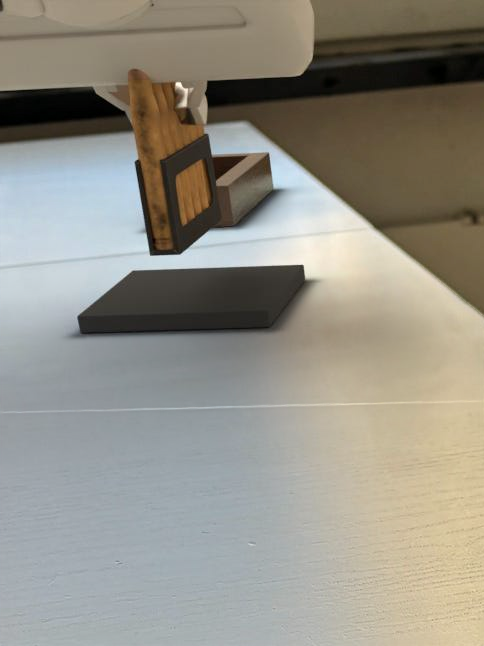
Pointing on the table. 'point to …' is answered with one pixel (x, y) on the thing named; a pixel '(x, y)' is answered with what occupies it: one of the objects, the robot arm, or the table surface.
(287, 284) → the rubber mat
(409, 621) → the table surface
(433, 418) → the table surface
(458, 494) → the table surface
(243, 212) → the bullet clip holder
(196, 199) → the stripper clip of bullets
